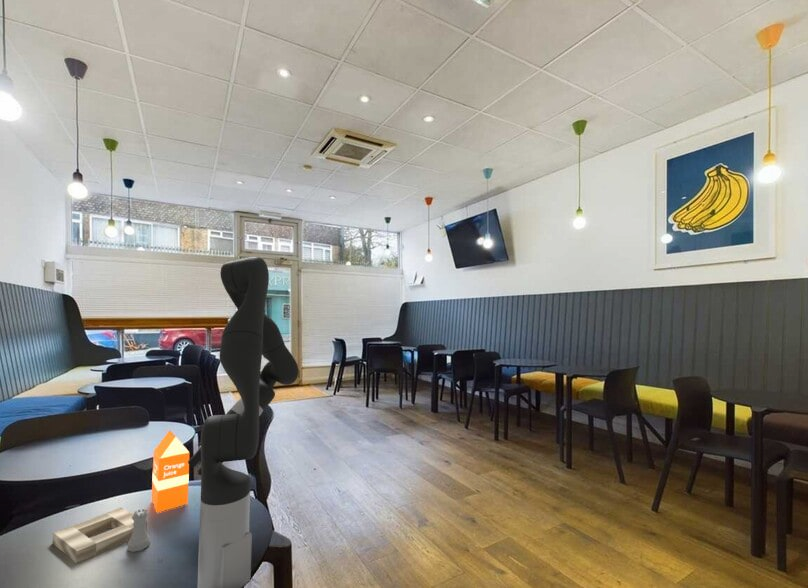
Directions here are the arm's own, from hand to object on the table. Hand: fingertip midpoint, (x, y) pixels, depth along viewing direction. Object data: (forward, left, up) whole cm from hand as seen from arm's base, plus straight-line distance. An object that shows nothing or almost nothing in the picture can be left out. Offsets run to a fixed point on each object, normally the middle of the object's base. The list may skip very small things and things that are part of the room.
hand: (195, 469), depth 97 cm
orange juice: (+19, -4, -15) cm, 24 cm away
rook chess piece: (+3, +11, -15) cm, 19 cm away
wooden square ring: (+15, +14, -14) cm, 25 cm away
